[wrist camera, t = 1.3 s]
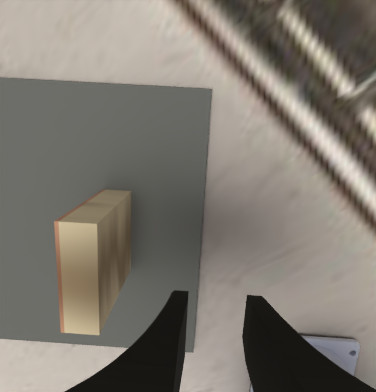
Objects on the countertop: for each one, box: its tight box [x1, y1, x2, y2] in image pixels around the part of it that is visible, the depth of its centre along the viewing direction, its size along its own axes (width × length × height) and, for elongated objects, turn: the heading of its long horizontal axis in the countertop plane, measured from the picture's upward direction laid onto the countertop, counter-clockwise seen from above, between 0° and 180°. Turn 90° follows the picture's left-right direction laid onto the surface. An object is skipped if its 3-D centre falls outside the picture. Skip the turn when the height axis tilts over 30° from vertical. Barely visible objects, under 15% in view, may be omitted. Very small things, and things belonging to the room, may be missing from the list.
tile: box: [54, 189, 131, 335], centre depth 17 cm, size 6×2×7 cm, turn 177°
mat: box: [0, 78, 212, 352], centre depth 21 cm, size 20×16×1 cm
